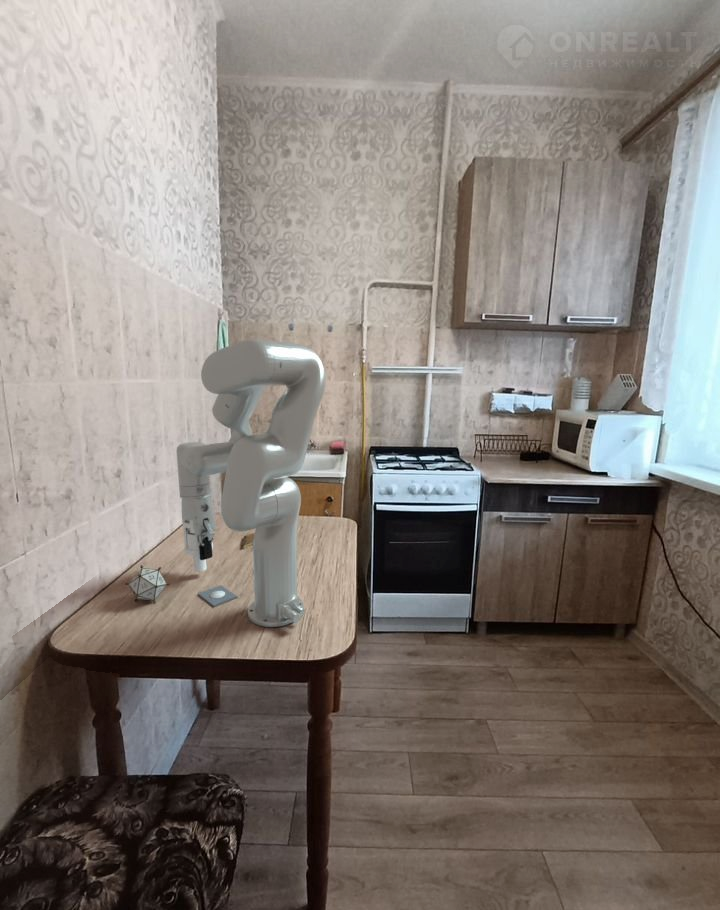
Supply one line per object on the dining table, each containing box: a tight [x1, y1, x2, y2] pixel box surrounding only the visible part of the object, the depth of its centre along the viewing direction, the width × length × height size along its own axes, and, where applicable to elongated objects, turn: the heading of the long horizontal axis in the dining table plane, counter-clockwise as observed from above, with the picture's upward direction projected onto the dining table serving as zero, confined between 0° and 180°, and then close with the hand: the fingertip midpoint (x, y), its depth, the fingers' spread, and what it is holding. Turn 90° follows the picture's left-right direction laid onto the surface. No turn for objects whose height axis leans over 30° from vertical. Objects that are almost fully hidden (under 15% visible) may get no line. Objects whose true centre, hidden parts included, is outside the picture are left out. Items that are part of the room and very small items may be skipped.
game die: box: [124, 565, 172, 604], centre depth 98 cm, size 9×8×10 cm
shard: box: [242, 531, 255, 550], centre depth 136 cm, size 11×8×2 cm
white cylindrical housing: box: [182, 519, 214, 573], centre depth 110 cm, size 7×7×15 cm
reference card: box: [197, 584, 238, 608], centre depth 101 cm, size 8×6×1 cm
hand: (199, 554), depth 110 cm, fingers closed on white cylindrical housing, 6 cm apart
